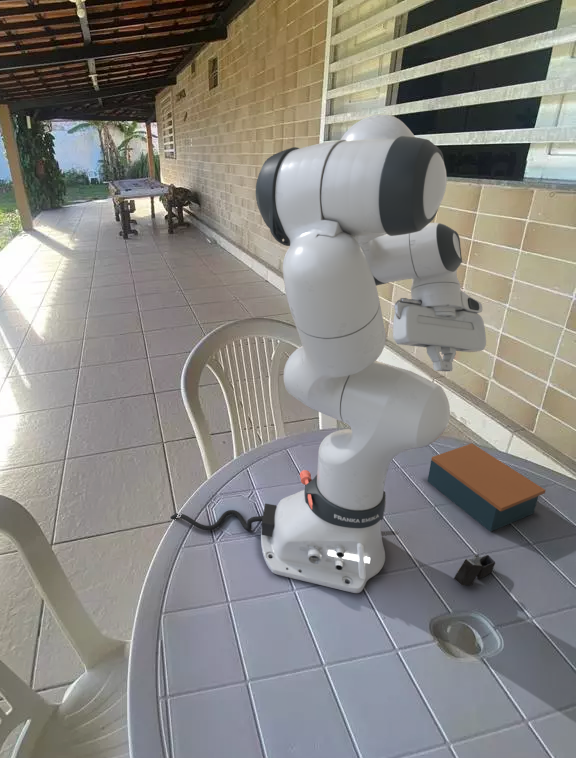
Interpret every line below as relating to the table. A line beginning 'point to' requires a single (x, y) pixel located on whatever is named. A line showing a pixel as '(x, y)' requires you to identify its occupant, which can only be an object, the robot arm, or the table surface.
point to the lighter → (474, 569)
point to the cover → (488, 476)
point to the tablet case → (477, 501)
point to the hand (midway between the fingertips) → (443, 371)
